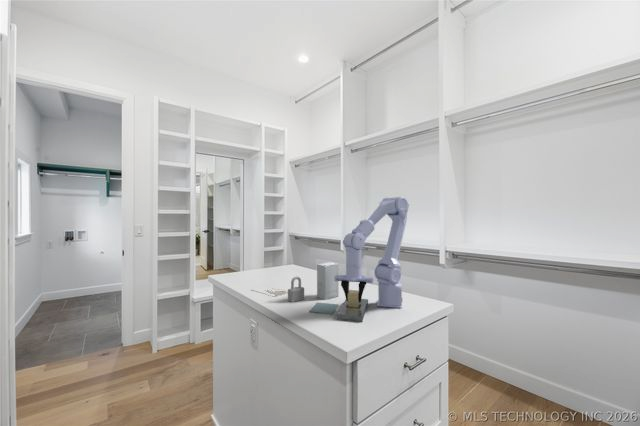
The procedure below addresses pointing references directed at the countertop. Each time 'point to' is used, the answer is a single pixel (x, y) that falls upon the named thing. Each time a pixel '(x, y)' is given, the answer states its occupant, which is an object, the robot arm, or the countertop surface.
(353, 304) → the tan rectangular block
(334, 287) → the skincare box
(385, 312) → the countertop surface
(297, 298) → the padlock
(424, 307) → the countertop surface
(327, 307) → the rubber mat
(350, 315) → the grey slotted base plate
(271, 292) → the grooming comb
